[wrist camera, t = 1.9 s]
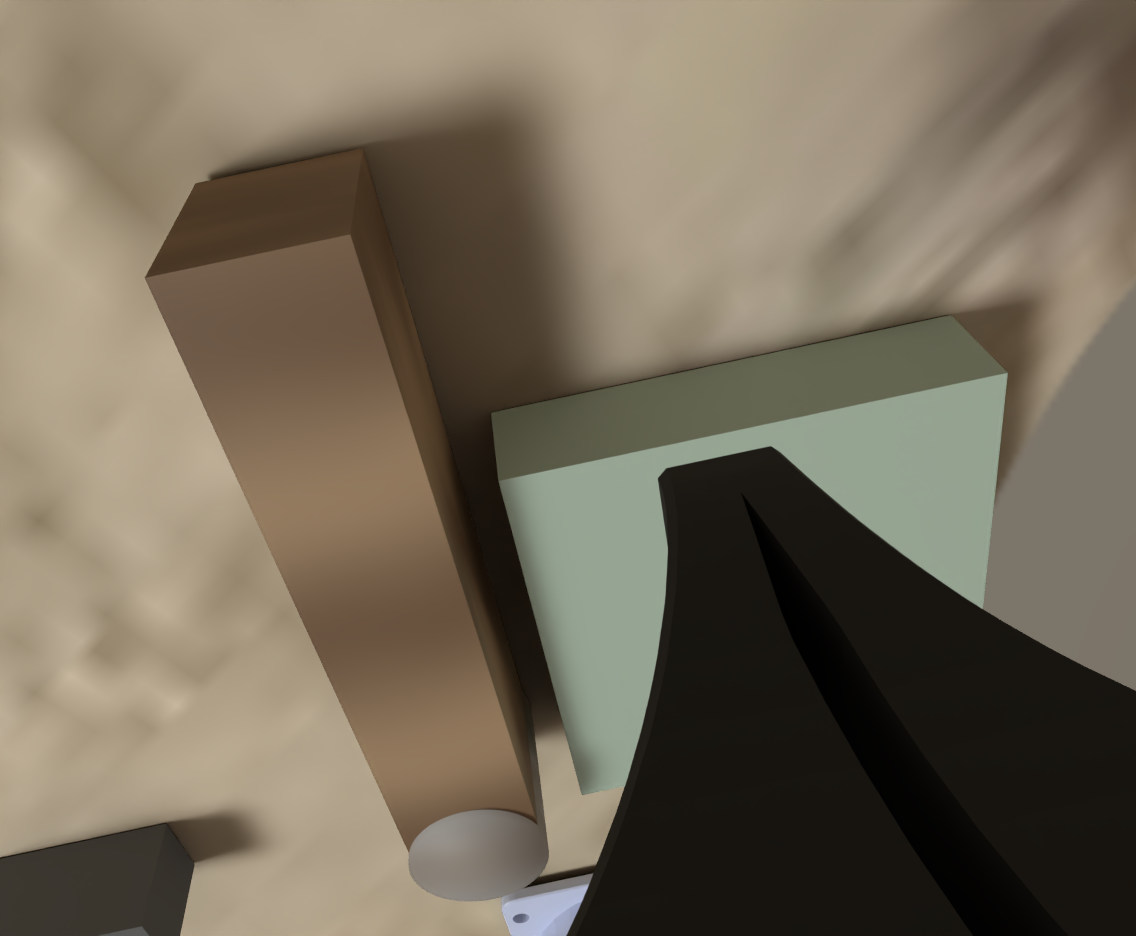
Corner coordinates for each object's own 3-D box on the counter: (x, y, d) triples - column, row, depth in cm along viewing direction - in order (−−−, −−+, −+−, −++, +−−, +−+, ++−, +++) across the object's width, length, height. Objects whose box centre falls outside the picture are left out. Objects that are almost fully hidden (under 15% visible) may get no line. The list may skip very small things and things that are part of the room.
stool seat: (930, 641, 27) (972, 712, 25) (569, 717, 27) (582, 795, 25) (951, 315, 21) (1007, 372, 19) (490, 412, 21) (498, 481, 19)
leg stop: (194, 864, 29) (173, 966, 26) (24, 900, 29) (-13, 1006, 26) (166, 823, 27) (142, 926, 25) (-12, 861, 27) (-54, 967, 25)
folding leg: (542, 744, 27) (559, 885, 24) (427, 769, 27) (428, 912, 24) (368, 147, 17) (356, 238, 14) (190, 184, 17) (134, 285, 14)
